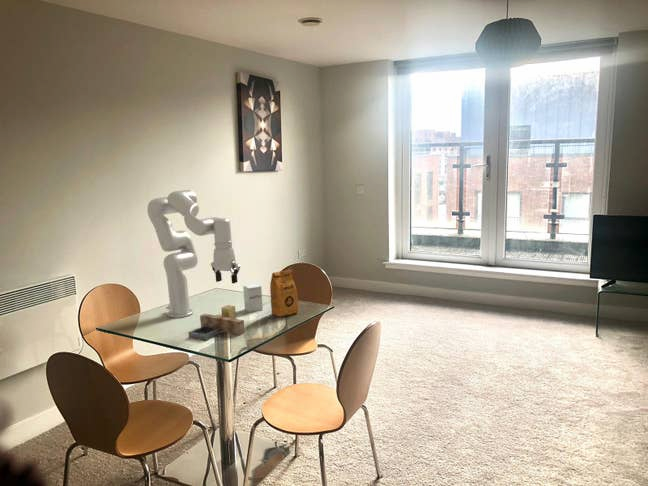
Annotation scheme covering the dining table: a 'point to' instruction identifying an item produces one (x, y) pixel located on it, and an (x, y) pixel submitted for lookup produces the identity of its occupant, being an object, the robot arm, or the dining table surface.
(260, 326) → the dining table surface
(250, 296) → the supplement box
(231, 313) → the block
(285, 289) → the coffee package
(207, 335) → the grey square tray
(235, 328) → the brown plank
